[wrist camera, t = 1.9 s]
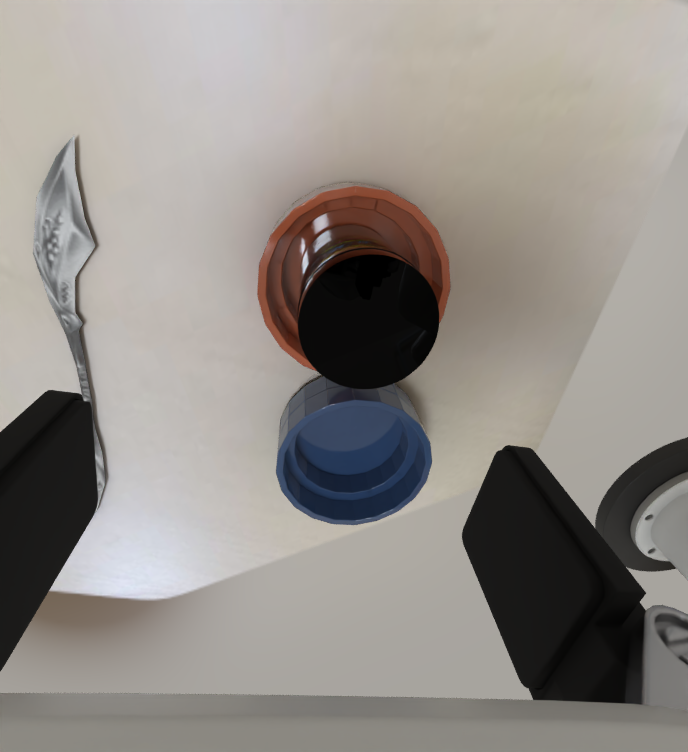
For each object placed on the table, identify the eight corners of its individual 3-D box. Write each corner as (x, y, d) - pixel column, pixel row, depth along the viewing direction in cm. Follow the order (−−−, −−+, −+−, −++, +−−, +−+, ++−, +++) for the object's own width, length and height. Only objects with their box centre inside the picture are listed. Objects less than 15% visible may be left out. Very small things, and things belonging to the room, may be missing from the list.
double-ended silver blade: (63, 532, 38) (122, 535, 39) (60, 538, 37) (120, 540, 38) (-6, 120, 24) (88, 136, 25) (-13, 119, 23) (83, 136, 24)
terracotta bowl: (445, 196, 28) (472, 203, 24) (409, 354, 33) (426, 384, 29) (270, 169, 26) (263, 171, 22) (260, 339, 31) (253, 369, 27)
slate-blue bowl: (429, 374, 34) (448, 407, 30) (400, 485, 39) (413, 527, 34) (285, 361, 32) (283, 393, 28) (275, 478, 37) (271, 521, 33)
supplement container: (279, 258, 28) (267, 306, 19) (365, 200, 27) (398, 222, 18) (332, 337, 31) (345, 412, 22) (413, 288, 30) (462, 345, 21)
